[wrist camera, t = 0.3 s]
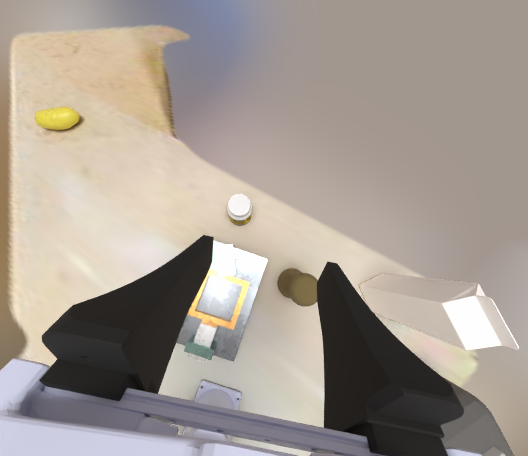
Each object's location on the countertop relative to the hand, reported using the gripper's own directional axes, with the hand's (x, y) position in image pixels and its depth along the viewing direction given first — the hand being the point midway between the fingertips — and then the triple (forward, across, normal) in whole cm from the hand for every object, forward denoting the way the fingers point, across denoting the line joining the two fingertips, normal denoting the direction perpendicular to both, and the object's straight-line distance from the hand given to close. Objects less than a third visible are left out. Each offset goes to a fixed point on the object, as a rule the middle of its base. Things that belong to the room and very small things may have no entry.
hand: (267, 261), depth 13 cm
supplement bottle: (+28, +6, +15) cm, 32 cm away
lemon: (+34, +47, +6) cm, 58 cm away
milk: (+21, -26, +23) cm, 41 cm away
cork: (+20, -8, +24) cm, 32 cm away
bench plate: (+15, +6, +27) cm, 31 cm away
